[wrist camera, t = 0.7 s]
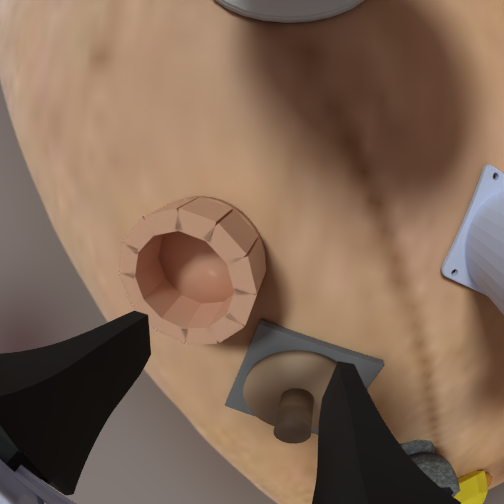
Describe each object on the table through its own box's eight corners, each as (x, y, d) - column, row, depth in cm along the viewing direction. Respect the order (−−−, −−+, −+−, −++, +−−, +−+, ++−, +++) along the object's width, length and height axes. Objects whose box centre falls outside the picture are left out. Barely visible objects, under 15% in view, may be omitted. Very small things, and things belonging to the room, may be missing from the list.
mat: (382, 360, 21) (384, 365, 20) (326, 431, 25) (326, 436, 24) (260, 319, 21) (258, 323, 21) (226, 400, 25) (224, 405, 25)
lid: (371, 369, 20) (377, 413, 16) (322, 430, 24) (319, 470, 20) (265, 334, 21) (252, 377, 17) (233, 403, 24) (220, 442, 20)
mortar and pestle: (353, 453, 25) (350, 551, 14) (436, 418, 22) (457, 521, 11) (389, 484, 27) (390, 560, 16) (456, 456, 24) (470, 534, 13)
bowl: (284, 222, 19) (275, 243, 15) (245, 327, 22) (231, 362, 18) (162, 180, 19) (129, 191, 16) (143, 285, 23) (116, 311, 19)
